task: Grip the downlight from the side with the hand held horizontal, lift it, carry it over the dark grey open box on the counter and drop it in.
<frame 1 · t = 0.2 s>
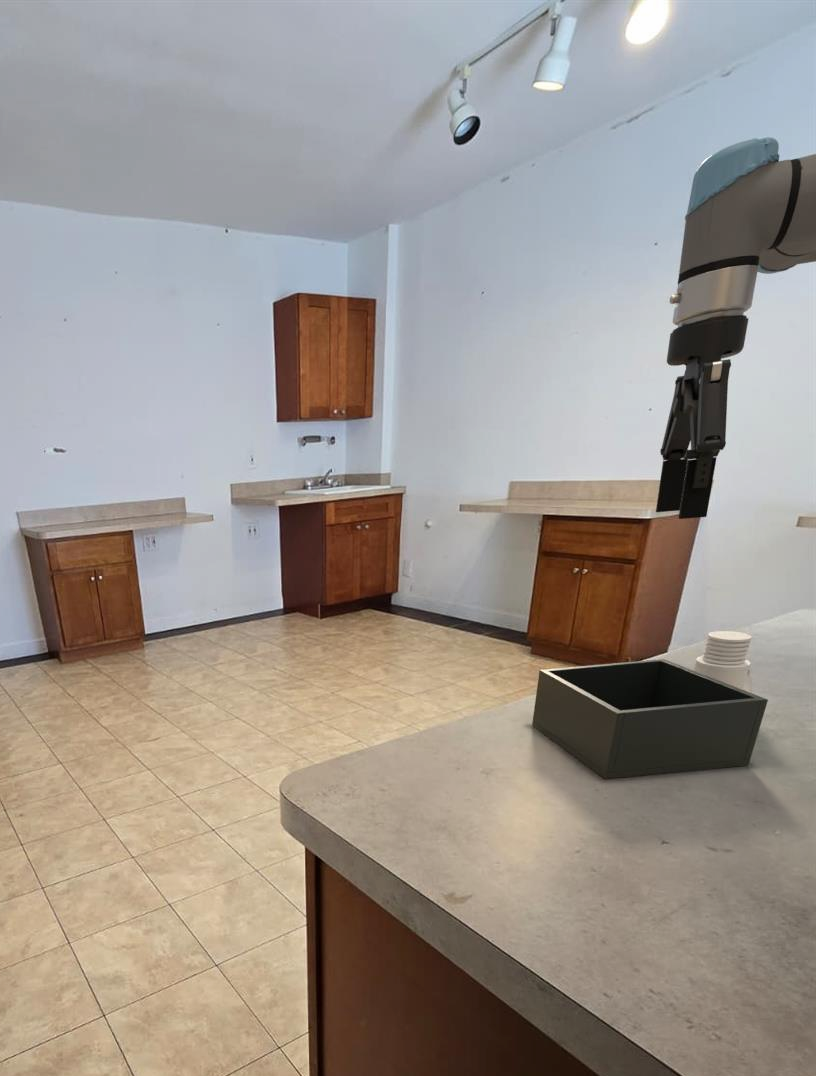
hand: (678, 514, 83), 25 cm above the countertop, tool pointing down, fingers open, 13 cm apart
dark grey open box: (630, 743, 78), on the countertop
downlight: (710, 709, 87), on the countertop
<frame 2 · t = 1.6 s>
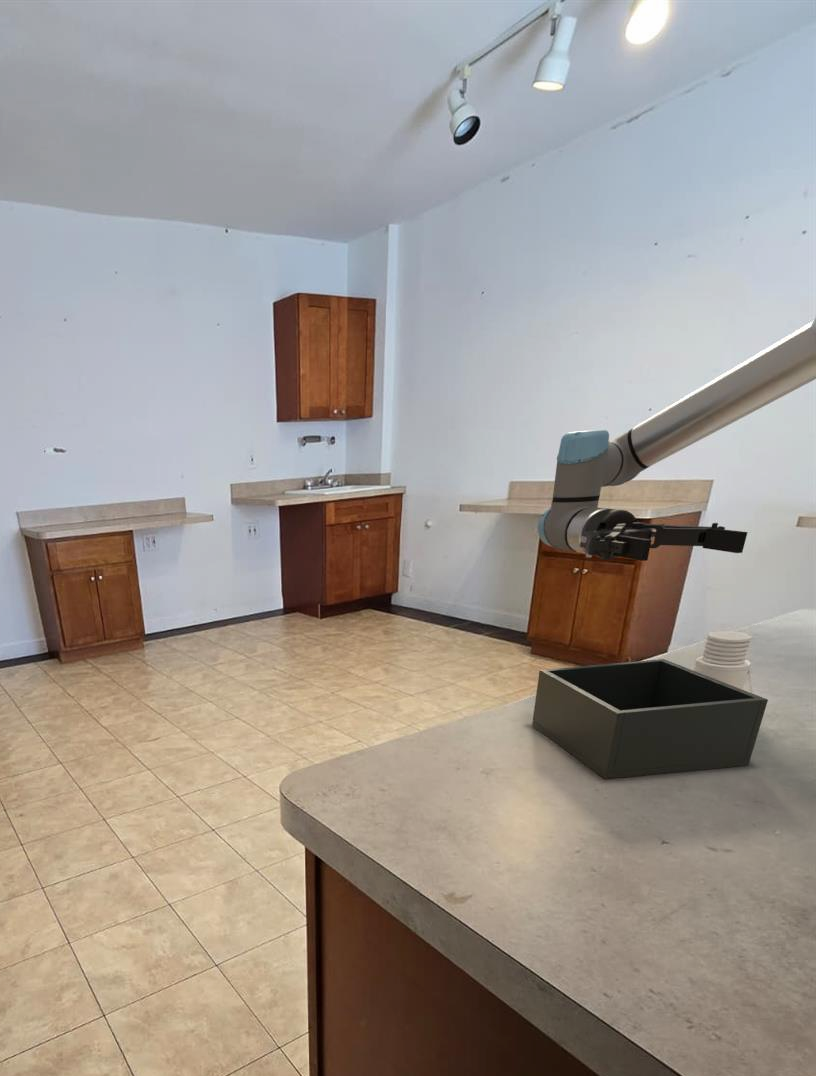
hand: (695, 546, 87), 20 cm above the countertop, tool horizontal, fingers open, 13 cm apart
nothing on the countertop moved.
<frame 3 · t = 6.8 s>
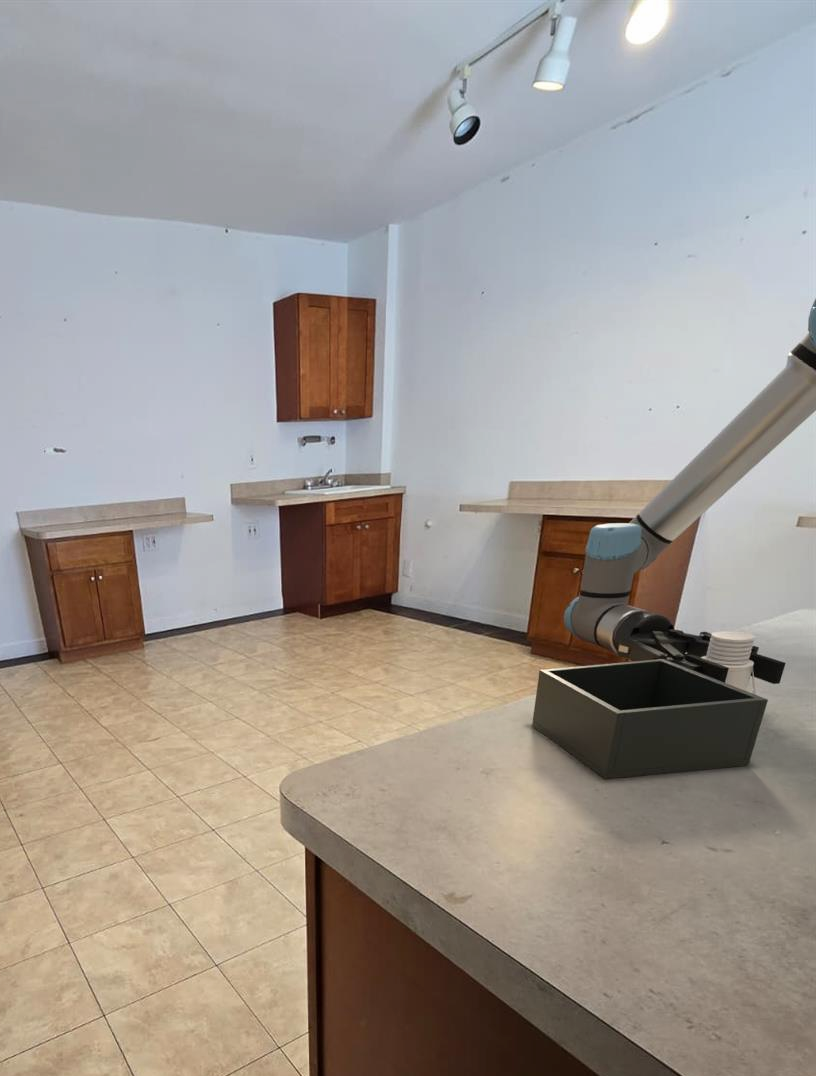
hand: (751, 676, 80), 6 cm above the countertop, tool horizontal, fingers closed on downlight, 7 cm apart
downlight: (713, 709, 87), on the countertop, touching gripper
when the fingers open (11 cm above the countertop, at t = 13.8 s): downlight drops 4 cm, resting on dark grey open box.
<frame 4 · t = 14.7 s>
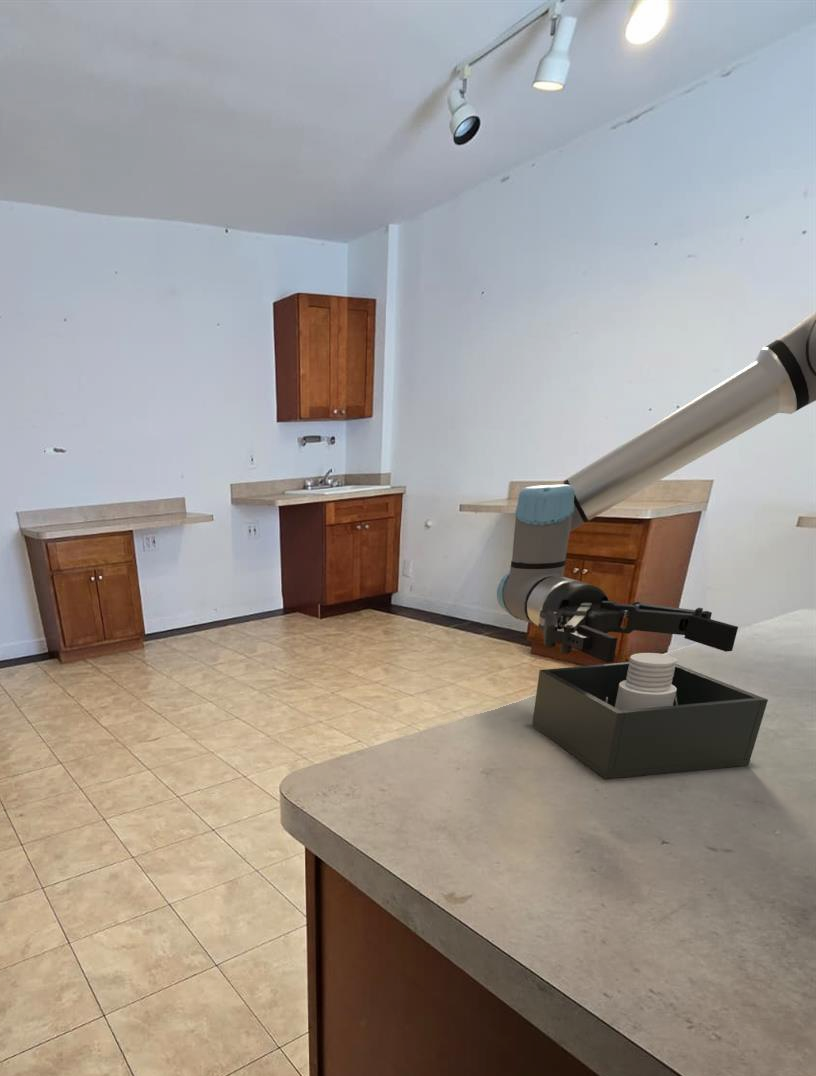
hand: (672, 644, 70), 13 cm above the countertop, tool horizontal, fingers open, 13 cm apart
downlight: (636, 739, 78), point 1 cm above the countertop, touching dark grey open box
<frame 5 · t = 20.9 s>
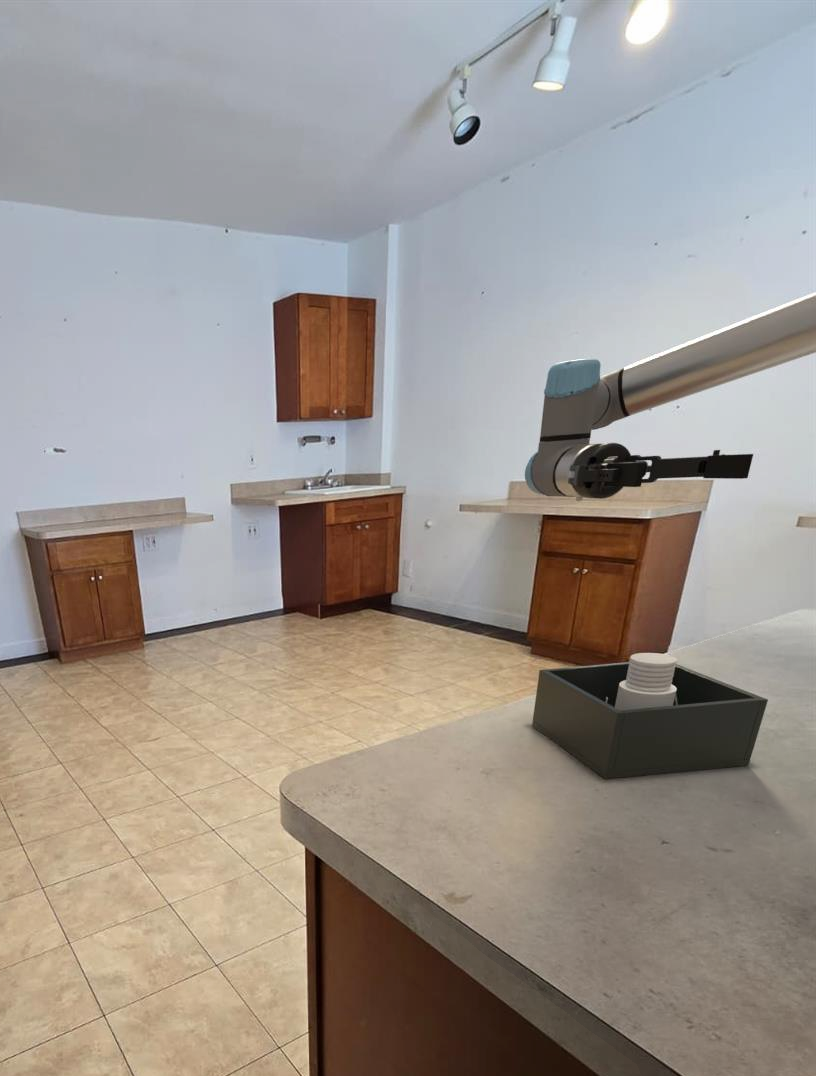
hand: (694, 470, 78), 30 cm above the countertop, tool horizontal, fingers open, 13 cm apart
nothing on the countertop moved.
at the end: downlight inside the target area in the dark grey open box (0.5 cm from its centre), point 0.6 cm above the dark grey open box's base; the gripper is holding nothing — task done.
